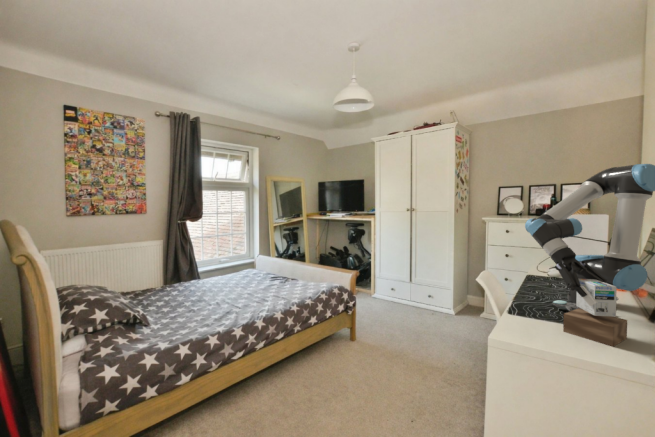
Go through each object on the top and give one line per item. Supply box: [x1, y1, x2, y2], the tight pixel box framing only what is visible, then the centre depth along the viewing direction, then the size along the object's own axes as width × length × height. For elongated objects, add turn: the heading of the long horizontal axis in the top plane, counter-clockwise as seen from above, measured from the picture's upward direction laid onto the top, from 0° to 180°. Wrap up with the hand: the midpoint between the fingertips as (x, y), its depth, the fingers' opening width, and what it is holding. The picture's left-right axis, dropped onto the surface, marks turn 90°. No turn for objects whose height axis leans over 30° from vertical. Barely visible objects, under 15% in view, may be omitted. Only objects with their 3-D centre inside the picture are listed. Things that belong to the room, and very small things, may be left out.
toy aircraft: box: [552, 299, 581, 312], centre depth 129 cm, size 16×20×5 cm
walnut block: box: [562, 308, 628, 348], centre depth 108 cm, size 12×14×7 cm
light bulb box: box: [576, 279, 618, 317], centre depth 108 cm, size 11×7×11 cm, turn 169°
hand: (604, 302), depth 105 cm, fingers closed on light bulb box, 10 cm apart
